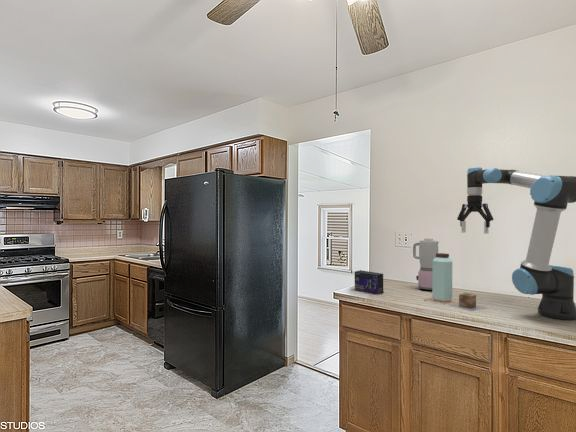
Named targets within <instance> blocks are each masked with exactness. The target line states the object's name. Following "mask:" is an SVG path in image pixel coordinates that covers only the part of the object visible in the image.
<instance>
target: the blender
mask: <svg viewBox="0 0 576 432" xmlns="http://www.w3.org/2000/svg"><path fill="white" fill-rule="evenodd" d="M439 243H440V241H438V240H434V238H424V239H423V240H419V242H415V243H414V244H413V246H412V249H413V250H412V254H413V256H412V257H413V258H414V259H417V260H419V264H420V268H419V270H418V273H417V275H416V278H415V279H416V281H417V282H418V283H417V284H418V285H417V288H418V290H419V291H421V289H422V290H428V291H429V290H431V291H432V281H433V259H434V258H435V257H436V253H439ZM417 246H418V255H417Z"/></svg>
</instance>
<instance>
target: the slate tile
mask: <svg viewBox="0 0 576 432" xmlns="http://www.w3.org/2000/svg"><path fill="white" fill-rule="evenodd" d="M448 306H449V307H453V308H457V309H462V310H466V311H469V312H474V311H480V310H485V309H487V307H485V306H481V305H477V304H476V307H474V308H472V309H471V308H465V307H460V306H459V302H456V303H450V304H448Z"/></svg>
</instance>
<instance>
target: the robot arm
mask: <svg viewBox="0 0 576 432" xmlns="http://www.w3.org/2000/svg"><path fill="white" fill-rule="evenodd" d="M466 173H467V174H466V176H467V177H466V179H467V180H466V185H467V188H466V195H467V197H466V199H467V200H466V201H467V204H466V203H463V204H462V206H461V209H460V212H459V213H458V216H457V217H456V218H457V219H456V220H457V221H460V222H459V226H460V227H461V228H460V229H461V233H463V234H464V233H466V232H467V229H466V228H467V227H466V226H467V224H466V223H467V222H466V219H467V217H468V216H469V215H470V214H471V213H475V212H476V213H479V215H480V216H481V217H482V218H483V219H484V221H483V234H489V228H490V227H491V221H494V217H493V215H492V213H491V211H490V208H489V204H488V203H483V184H505V185H511V186H517V187H522V188H525V189H529V195H530V196H531V199H532V200H533V205H534V207H535V208H536V212H535V217H534V221H533V226H532V231H531V234H530V235H531V236H530V239H529V243H528V248H527V253H526V258H525V259H524V260H522V261H521V262H520V266H519V268H516V269H515V270H513V272H512V274H511V281H512V285H514V287H515V289H516V290H517V291H518V292H520V293H521V294H523V295H530V296H533V295H541V300H540V302H539V303H538V304H539V305H538V307H537V314H538V315H540V316H543V317H545V318H549V319H556V320H565V321H576V304H575V301H574V294H575V291H574V290H575V288H574V285H575V282H574V281H575V276H574V274H575V273H574V270H573V269H572V267H571V268H570V267H567V266H560V265H559V266H558V265H553V264H550V259H551V255H552V253H553V248H554V244H555V239H556V236H557V230H558V226H559V223H560V222H559V221H560V218H561V214H562V212H564V211H566V210H567V207H568V205H569V204H573V203H576V176H573V175H555V174H554V175H551V174H549V175H543V174H538V173H532V172H527V171H522V170H521V171H520V170H517V169H503V168H502V169H500V168H496V167H489V168H486V169H483V168H482V167H479V166H477V167H476V166H475V167H469V168H468V169H467V172H466Z"/></svg>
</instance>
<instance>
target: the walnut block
mask: <svg viewBox="0 0 576 432" xmlns="http://www.w3.org/2000/svg"><path fill="white" fill-rule="evenodd" d="M458 301H459V302H458V303H459V306H460V307H465V308H471V309H472V308H474V307H476V305H477V294H476V293H469V292H462V293H459V294H458Z"/></svg>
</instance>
